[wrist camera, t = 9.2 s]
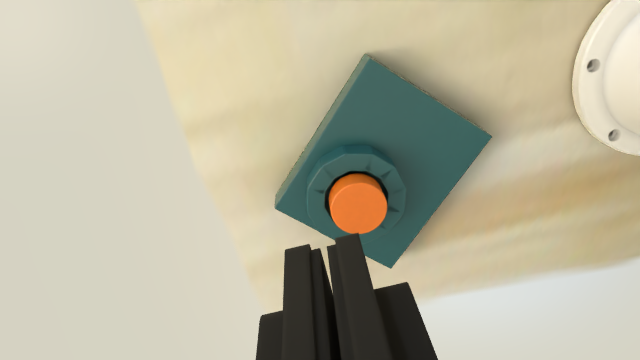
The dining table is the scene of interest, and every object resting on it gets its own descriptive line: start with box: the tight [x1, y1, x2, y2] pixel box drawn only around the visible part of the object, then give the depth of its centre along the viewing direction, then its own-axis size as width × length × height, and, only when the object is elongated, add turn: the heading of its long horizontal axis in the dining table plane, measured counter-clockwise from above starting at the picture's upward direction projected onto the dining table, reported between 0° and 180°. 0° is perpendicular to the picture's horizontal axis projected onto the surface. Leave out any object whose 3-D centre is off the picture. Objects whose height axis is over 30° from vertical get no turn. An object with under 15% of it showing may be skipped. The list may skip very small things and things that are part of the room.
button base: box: [275, 54, 492, 268], centre depth 32 cm, size 12×10×4 cm
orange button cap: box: [329, 173, 387, 234], centre depth 30 cm, size 4×4×2 cm
